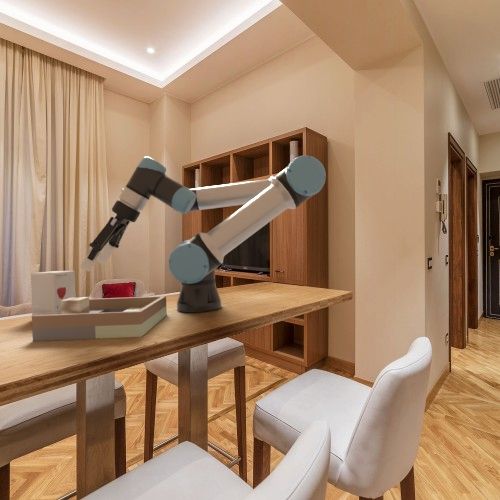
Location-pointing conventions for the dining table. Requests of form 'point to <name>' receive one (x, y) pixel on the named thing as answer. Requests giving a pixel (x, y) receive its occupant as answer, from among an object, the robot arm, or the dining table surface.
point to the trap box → (103, 320)
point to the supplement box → (51, 291)
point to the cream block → (75, 305)
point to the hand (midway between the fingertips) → (93, 265)
